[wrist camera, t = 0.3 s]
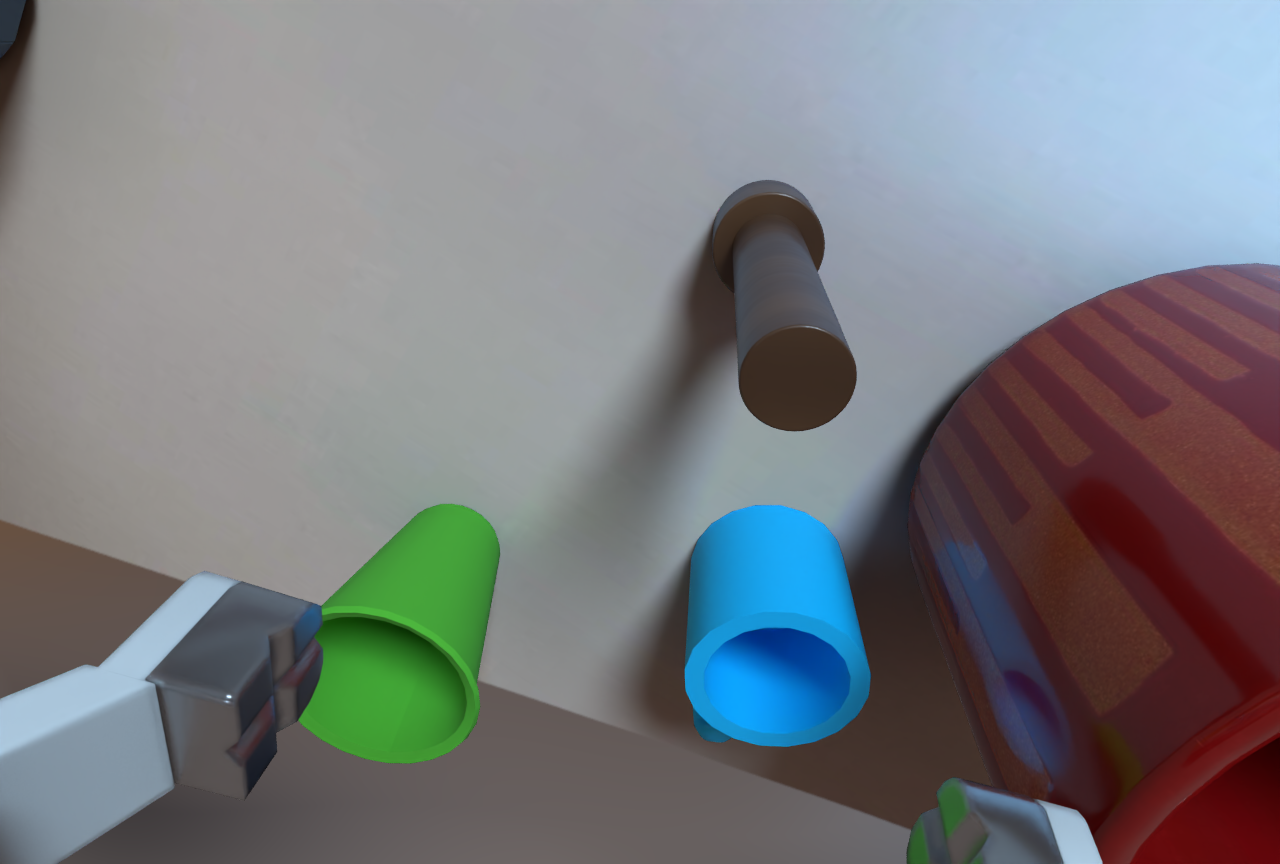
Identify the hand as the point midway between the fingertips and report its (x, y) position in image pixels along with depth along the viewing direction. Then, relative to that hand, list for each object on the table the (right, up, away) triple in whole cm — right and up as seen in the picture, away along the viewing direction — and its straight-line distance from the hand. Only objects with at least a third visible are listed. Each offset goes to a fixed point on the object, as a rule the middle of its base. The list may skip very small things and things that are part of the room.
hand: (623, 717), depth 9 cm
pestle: (+6, +12, +23) cm, 26 cm away
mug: (+6, -5, +32) cm, 33 cm away
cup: (-10, -2, +32) cm, 34 cm away
